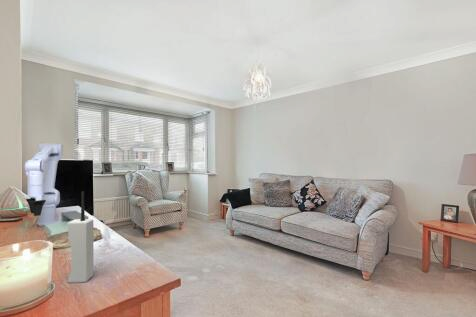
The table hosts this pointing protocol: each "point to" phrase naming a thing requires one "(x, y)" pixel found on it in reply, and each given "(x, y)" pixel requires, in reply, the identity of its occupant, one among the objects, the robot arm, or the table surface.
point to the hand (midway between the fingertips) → (35, 214)
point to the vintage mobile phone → (81, 247)
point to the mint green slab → (56, 228)
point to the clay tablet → (63, 239)
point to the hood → (71, 216)
